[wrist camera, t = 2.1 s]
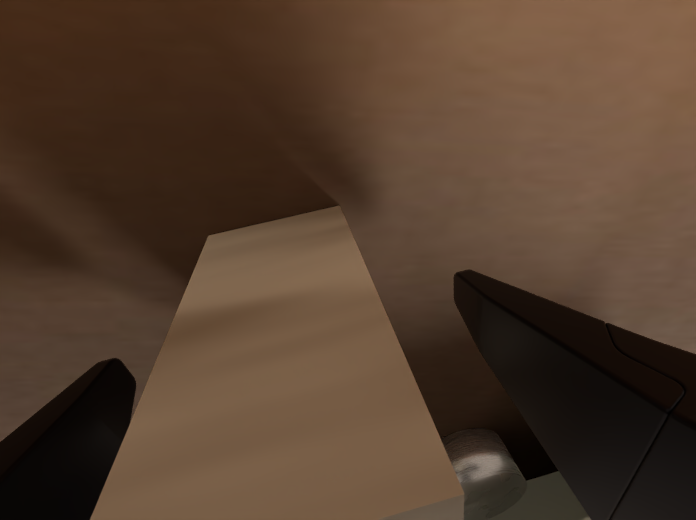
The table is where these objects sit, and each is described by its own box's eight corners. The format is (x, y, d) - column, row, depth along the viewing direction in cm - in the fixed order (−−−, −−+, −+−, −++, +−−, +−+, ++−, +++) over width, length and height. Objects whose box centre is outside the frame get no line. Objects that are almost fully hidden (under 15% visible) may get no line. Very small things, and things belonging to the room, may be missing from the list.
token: (496, 463, 21) (521, 509, 18) (419, 486, 20) (435, 535, 18) (502, 415, 18) (532, 463, 16) (414, 440, 18) (432, 492, 16)
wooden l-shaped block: (392, 475, 19) (457, 709, 12) (323, 495, 18) (348, 745, 12) (339, 205, 10) (464, 493, 3) (208, 235, 10) (49, 616, 3)
